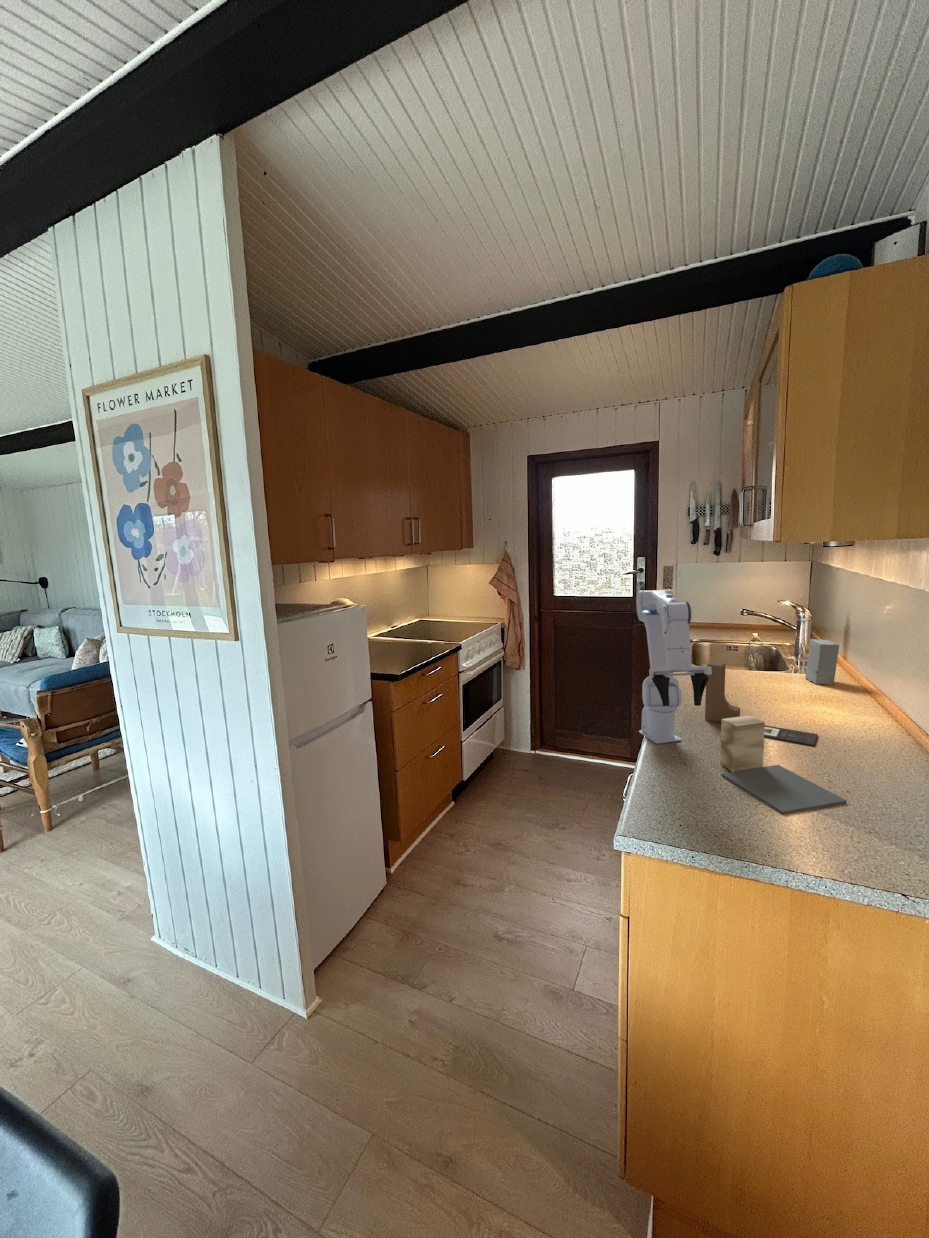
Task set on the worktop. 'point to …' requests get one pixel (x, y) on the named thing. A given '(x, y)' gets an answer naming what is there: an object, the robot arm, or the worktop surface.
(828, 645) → the skincare box
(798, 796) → the mat
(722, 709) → the wooden block
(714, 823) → the worktop surface
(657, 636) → the robot arm
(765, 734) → the chocolate bar
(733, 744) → the birch block
